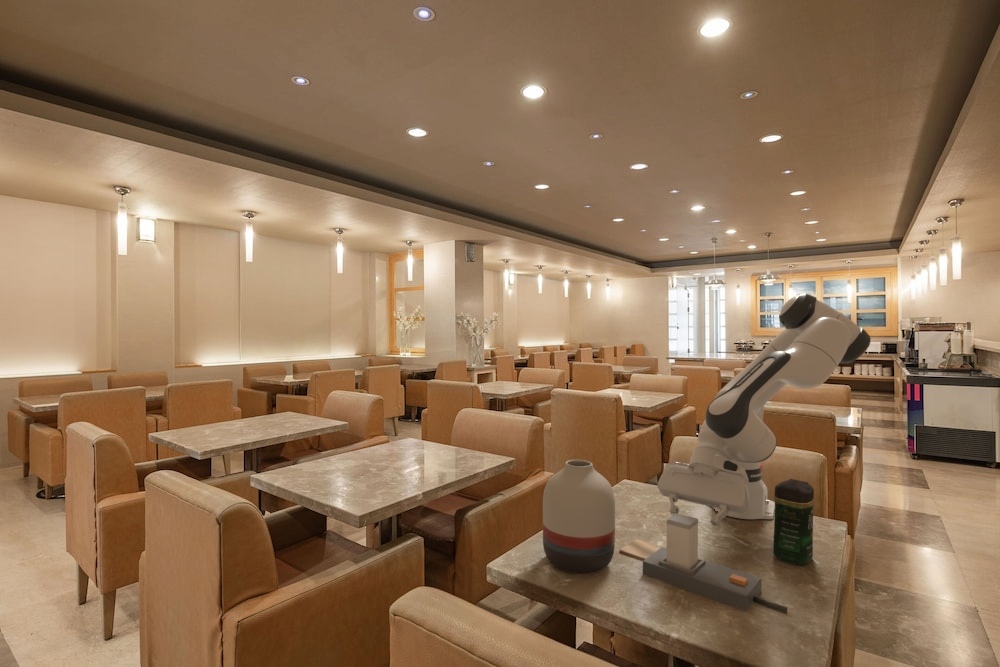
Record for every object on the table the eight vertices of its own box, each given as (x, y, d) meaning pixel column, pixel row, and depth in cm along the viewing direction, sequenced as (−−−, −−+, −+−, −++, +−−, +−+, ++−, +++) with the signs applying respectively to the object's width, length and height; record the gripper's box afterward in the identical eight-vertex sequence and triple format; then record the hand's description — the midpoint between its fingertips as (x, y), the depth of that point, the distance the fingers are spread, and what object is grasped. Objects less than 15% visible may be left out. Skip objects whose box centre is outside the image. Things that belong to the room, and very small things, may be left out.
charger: (675, 556, 117) (676, 513, 117) (697, 563, 113) (698, 518, 113) (666, 563, 113) (666, 519, 113) (688, 571, 109) (689, 525, 109)
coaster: (636, 541, 132) (636, 538, 132) (669, 551, 126) (669, 549, 126) (619, 552, 125) (619, 549, 125) (653, 563, 119) (653, 561, 119)
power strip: (661, 559, 121) (662, 543, 121) (793, 602, 103) (793, 584, 103) (642, 574, 114) (642, 557, 114) (780, 623, 95) (780, 603, 95)
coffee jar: (806, 570, 117) (807, 490, 116) (769, 558, 122) (770, 482, 122) (817, 556, 124) (817, 481, 123) (781, 546, 129) (782, 474, 129)
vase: (599, 587, 108) (600, 477, 108) (530, 567, 117) (530, 465, 117) (624, 557, 123) (624, 460, 123) (560, 541, 132) (561, 451, 131)
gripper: (663, 453, 128) (646, 501, 121) (750, 467, 114) (736, 523, 107) (670, 467, 131) (654, 514, 124) (756, 483, 118) (743, 537, 110)
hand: (693, 518), depth 115 cm, fingers open, 8 cm apart
